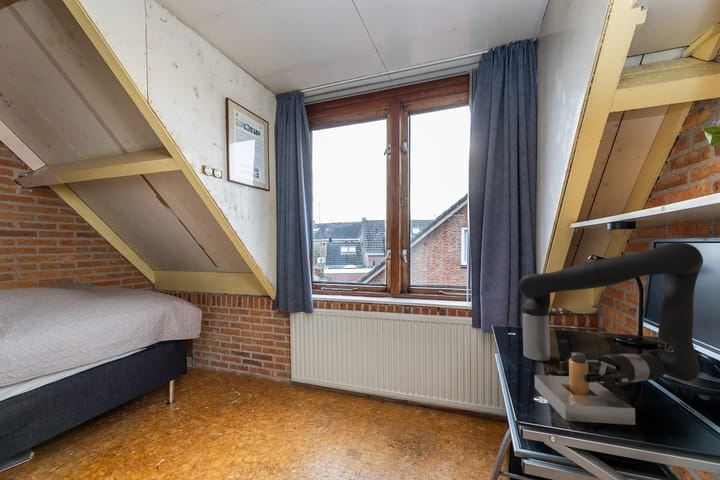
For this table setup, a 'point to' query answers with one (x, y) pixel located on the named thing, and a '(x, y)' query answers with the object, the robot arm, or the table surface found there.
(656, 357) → the robot arm
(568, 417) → the grey square-holed plate
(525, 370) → the table surface
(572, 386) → the plug
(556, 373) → the electric trimmer
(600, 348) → the table surface
